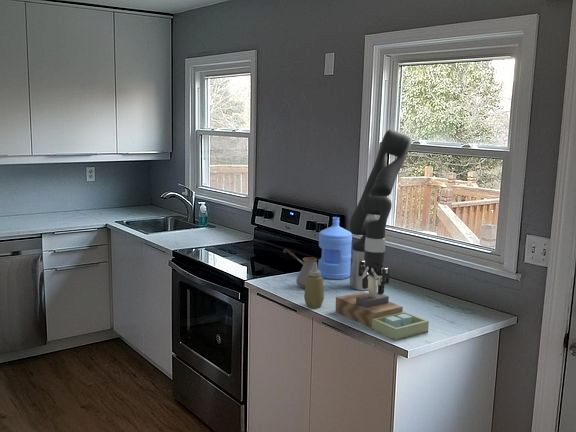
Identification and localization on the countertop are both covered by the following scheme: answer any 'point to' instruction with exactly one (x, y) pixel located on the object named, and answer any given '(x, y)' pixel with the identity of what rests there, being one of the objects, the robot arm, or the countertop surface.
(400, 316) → the light blue block
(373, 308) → the flat wooden board
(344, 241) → the water jug
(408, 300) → the countertop surface
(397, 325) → the pale blue cube
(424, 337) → the countertop surface
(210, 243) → the countertop surface
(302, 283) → the coffee pot
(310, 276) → the squeeze bottle
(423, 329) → the bin
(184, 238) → the countertop surface
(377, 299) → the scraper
